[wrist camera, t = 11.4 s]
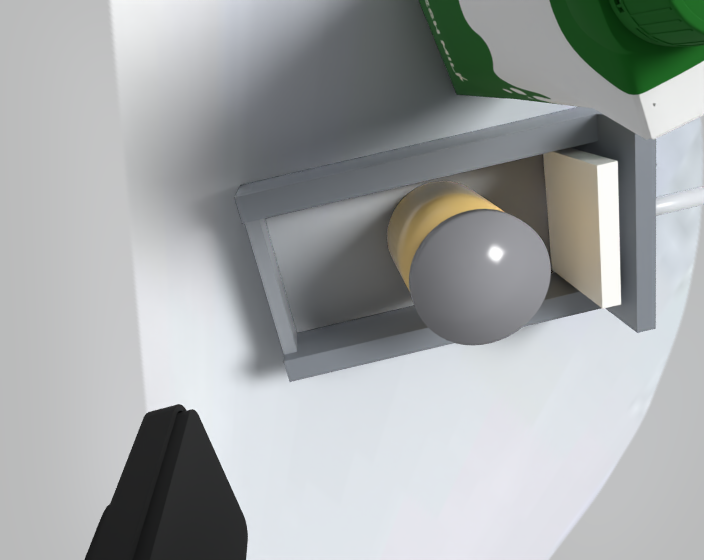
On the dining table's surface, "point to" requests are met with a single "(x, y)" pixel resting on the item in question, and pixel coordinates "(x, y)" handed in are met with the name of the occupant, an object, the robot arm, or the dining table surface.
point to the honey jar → (467, 263)
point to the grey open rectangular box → (439, 161)
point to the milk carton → (579, 55)
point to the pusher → (592, 220)
